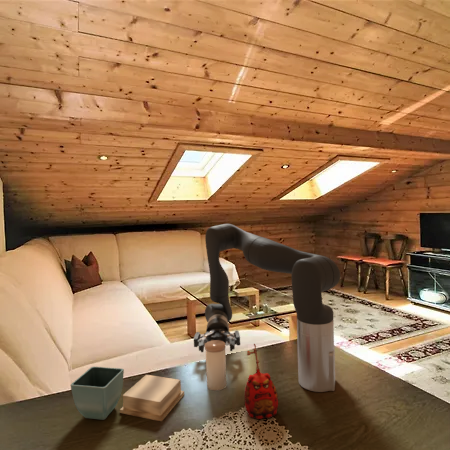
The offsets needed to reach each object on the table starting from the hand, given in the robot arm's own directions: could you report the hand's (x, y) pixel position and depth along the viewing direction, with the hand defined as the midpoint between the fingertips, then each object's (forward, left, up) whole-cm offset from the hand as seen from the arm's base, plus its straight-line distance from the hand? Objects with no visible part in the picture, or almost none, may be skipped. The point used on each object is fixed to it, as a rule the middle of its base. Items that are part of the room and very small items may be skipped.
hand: (216, 348), depth 98 cm
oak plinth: (+9, +20, -6) cm, 23 cm away
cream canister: (-3, +8, -6) cm, 11 cm away
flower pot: (+19, +27, -6) cm, 34 cm away
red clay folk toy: (-17, +16, -6) cm, 24 cm away
